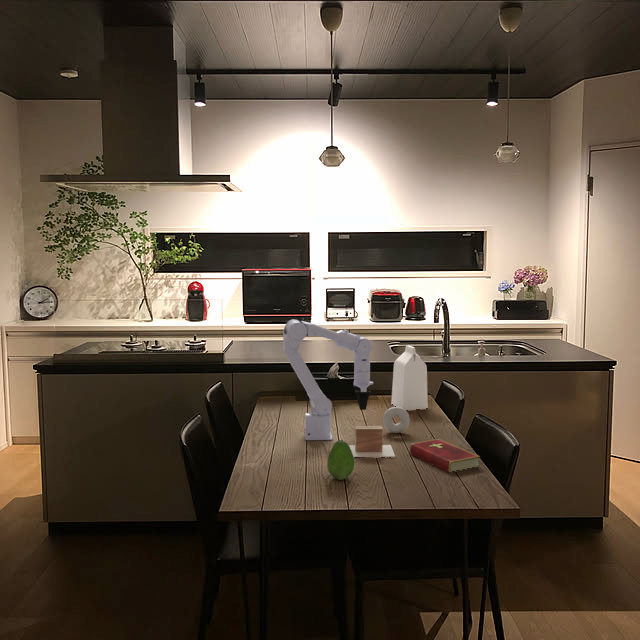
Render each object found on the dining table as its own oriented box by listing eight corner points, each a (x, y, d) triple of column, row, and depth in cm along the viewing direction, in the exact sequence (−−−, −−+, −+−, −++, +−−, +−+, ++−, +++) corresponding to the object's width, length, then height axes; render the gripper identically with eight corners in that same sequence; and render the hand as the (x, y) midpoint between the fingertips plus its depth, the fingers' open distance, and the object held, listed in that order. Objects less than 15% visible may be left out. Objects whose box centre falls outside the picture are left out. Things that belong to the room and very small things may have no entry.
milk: (391, 404, 293) (392, 344, 289) (415, 402, 296) (416, 343, 293) (402, 410, 281) (403, 349, 278) (427, 408, 285) (429, 348, 281)
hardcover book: (449, 474, 208) (449, 461, 207) (409, 455, 226) (409, 442, 226) (479, 468, 213) (480, 455, 213) (438, 449, 232) (438, 438, 231)
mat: (346, 457, 221) (346, 456, 221) (344, 446, 233) (344, 445, 233) (395, 457, 222) (395, 456, 222) (390, 446, 234) (390, 444, 234)
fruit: (338, 472, 208) (338, 434, 207) (359, 478, 203) (359, 439, 202) (321, 479, 202) (322, 440, 200) (343, 485, 197) (343, 445, 196)
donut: (382, 434, 248) (383, 407, 247) (381, 431, 251) (382, 405, 250) (410, 434, 248) (410, 407, 247) (408, 431, 252) (409, 405, 250)
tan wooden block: (382, 452, 226) (382, 428, 225) (355, 452, 226) (355, 429, 225) (381, 448, 229) (381, 425, 228) (354, 449, 229) (355, 426, 228)
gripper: (375, 374, 237) (374, 411, 239) (371, 366, 252) (370, 401, 253) (355, 374, 237) (355, 412, 239) (352, 366, 252) (352, 402, 253)
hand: (361, 406), depth 246 cm, fingers open, 7 cm apart
